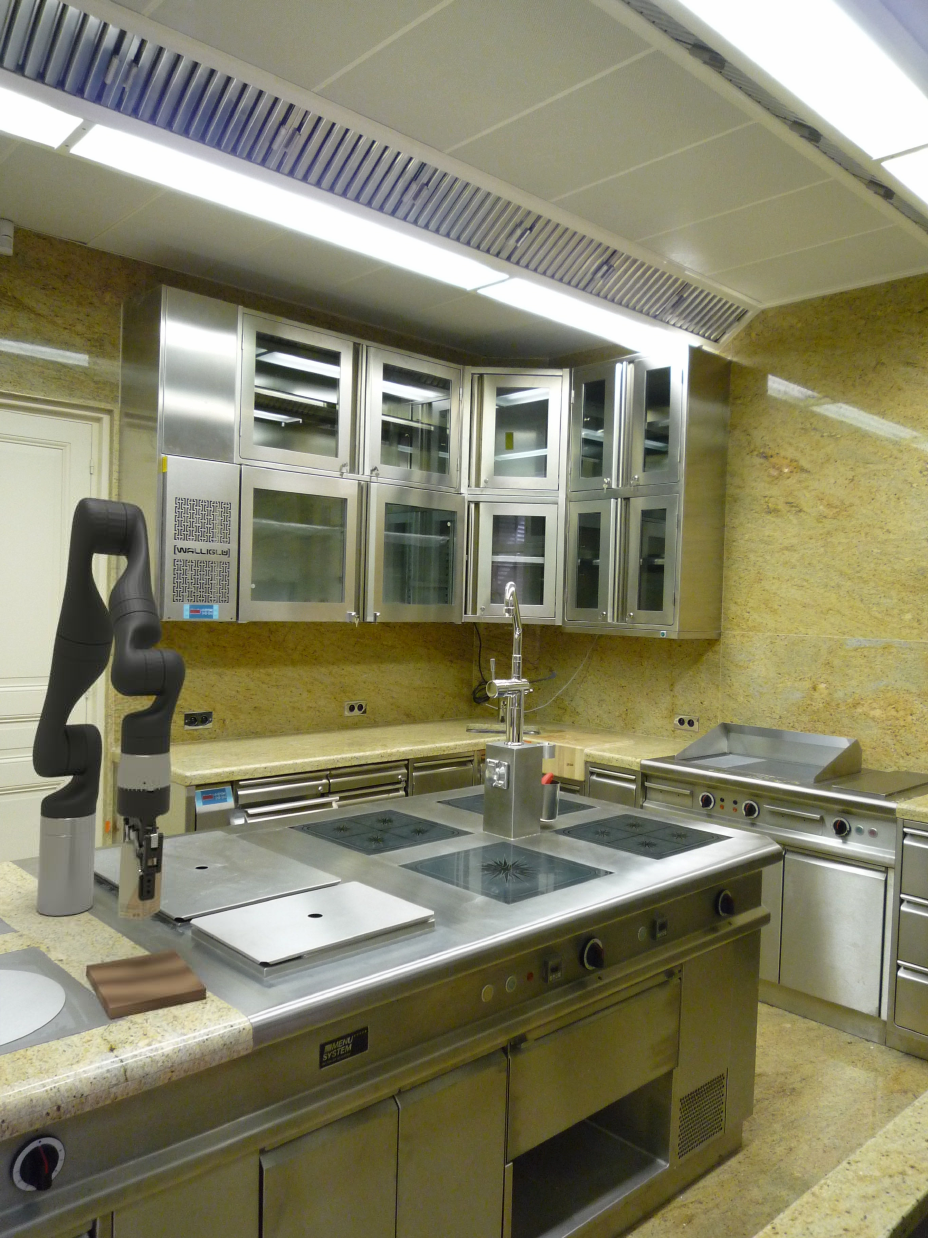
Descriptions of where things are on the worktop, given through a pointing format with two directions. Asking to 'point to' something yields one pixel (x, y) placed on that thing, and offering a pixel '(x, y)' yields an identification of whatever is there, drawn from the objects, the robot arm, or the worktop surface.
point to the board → (144, 983)
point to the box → (135, 887)
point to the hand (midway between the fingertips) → (140, 892)
